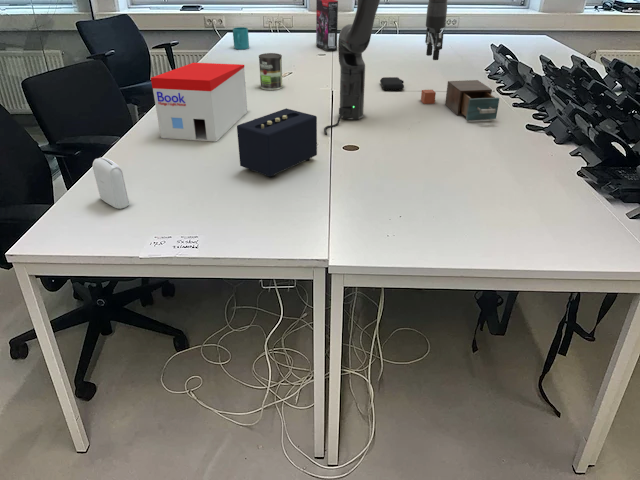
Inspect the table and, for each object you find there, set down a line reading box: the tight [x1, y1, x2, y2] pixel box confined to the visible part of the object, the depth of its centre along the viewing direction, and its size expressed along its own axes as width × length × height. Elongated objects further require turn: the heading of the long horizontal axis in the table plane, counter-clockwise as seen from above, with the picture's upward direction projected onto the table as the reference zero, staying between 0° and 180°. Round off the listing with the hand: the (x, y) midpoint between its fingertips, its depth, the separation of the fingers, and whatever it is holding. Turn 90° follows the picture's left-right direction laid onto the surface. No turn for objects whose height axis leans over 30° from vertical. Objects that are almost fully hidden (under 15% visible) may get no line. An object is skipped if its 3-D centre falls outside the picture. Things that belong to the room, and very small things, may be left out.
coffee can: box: [258, 52, 284, 91], centre depth 239 cm, size 10×10×14 cm
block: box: [420, 89, 437, 105], centre depth 221 cm, size 5×5×5 cm
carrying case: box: [379, 76, 405, 91], centre depth 242 cm, size 11×3×15 cm
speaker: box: [236, 108, 318, 178], centre depth 161 cm, size 22×13×15 cm, turn 141°
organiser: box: [444, 79, 493, 116], centre depth 211 cm, size 15×13×10 cm
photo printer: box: [92, 157, 130, 210], centre depth 140 cm, size 10×4×12 cm, turn 47°
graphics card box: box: [315, 0, 339, 52], centre depth 310 cm, size 17×7×27 cm, turn 25°
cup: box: [232, 26, 250, 51], centre depth 315 cm, size 9×12×11 cm
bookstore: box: [150, 62, 248, 143], centre depth 193 cm, size 21×35×21 cm, turn 169°
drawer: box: [460, 92, 500, 121], centre depth 201 cm, size 18×11×8 cm, turn 7°
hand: (432, 57), depth 213 cm, fingers open, 8 cm apart
